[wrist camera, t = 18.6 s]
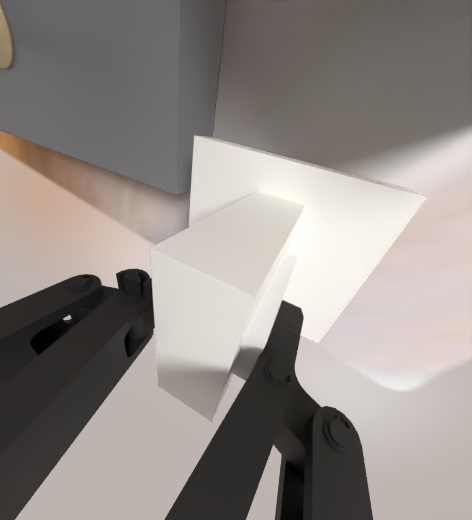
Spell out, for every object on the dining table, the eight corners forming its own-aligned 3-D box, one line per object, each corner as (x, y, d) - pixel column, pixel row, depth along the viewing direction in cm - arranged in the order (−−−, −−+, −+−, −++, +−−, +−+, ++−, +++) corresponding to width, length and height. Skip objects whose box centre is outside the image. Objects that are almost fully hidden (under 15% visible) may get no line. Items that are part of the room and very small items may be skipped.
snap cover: (414, 190, 11) (744, 366, 2) (319, 325, 17) (302, 502, 9) (210, 136, 14) (-2, 116, 5) (197, 268, 21) (94, 356, 12)
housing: (242, -148, 11) (180, -338, 7) (207, 186, 21) (174, 195, 17) (-38, -107, 18) (-154, -186, 13) (38, 129, 28) (-15, 126, 24)
